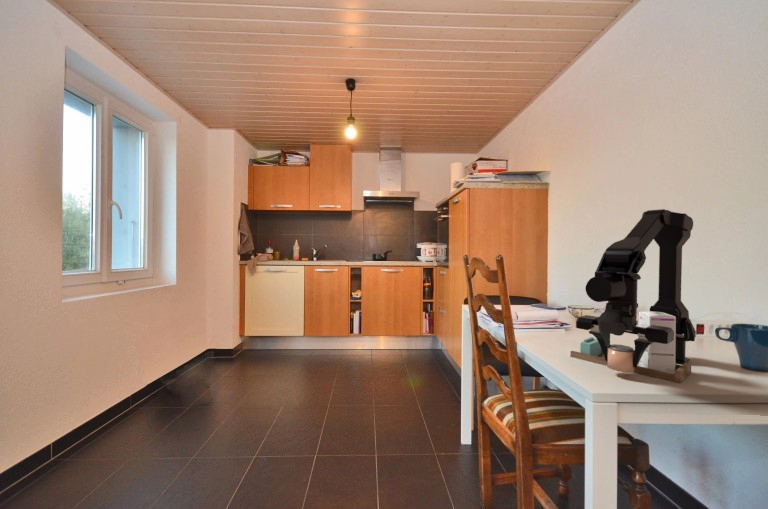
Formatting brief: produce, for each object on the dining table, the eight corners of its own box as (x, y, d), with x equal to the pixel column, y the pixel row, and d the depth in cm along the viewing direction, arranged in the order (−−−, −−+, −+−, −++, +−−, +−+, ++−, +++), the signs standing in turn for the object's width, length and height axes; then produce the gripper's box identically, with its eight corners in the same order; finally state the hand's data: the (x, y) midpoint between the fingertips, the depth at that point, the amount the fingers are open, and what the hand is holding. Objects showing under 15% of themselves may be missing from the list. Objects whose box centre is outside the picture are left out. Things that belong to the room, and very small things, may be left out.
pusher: (592, 351, 102) (592, 336, 102) (601, 353, 100) (601, 337, 100) (580, 356, 97) (580, 340, 97) (589, 359, 95) (589, 342, 95)
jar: (612, 363, 88) (612, 342, 87) (637, 369, 83) (638, 347, 83) (603, 367, 84) (604, 346, 84) (629, 374, 80) (630, 352, 80)
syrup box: (676, 376, 84) (678, 316, 83) (648, 374, 85) (649, 314, 85) (662, 368, 89) (664, 311, 89) (636, 366, 90) (638, 310, 90)
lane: (586, 350, 104) (586, 341, 104) (691, 373, 86) (691, 363, 86) (570, 356, 98) (570, 347, 98) (680, 383, 79) (680, 372, 79)
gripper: (566, 297, 86) (565, 360, 86) (660, 308, 71) (658, 384, 71) (585, 293, 93) (584, 352, 93) (675, 302, 78) (673, 372, 78)
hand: (620, 363), depth 84 cm, fingers closed on jar, 5 cm apart
